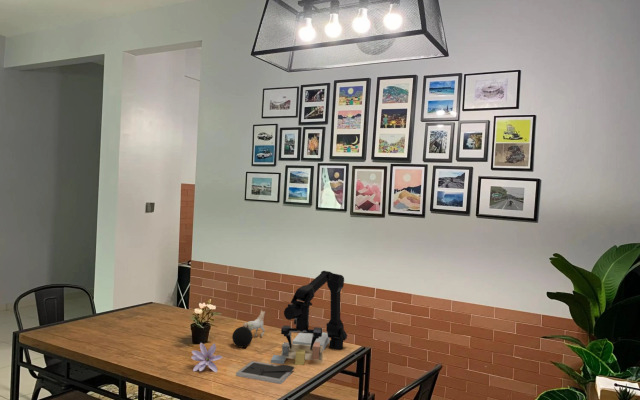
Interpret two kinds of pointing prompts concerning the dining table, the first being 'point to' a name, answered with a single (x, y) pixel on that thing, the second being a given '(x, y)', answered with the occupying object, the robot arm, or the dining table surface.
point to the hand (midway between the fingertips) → (300, 349)
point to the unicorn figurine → (256, 324)
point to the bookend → (286, 349)
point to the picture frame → (266, 372)
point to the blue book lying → (278, 359)
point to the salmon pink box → (316, 350)
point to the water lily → (205, 358)
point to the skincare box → (307, 339)
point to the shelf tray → (307, 352)
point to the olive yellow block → (300, 357)
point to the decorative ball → (242, 336)
